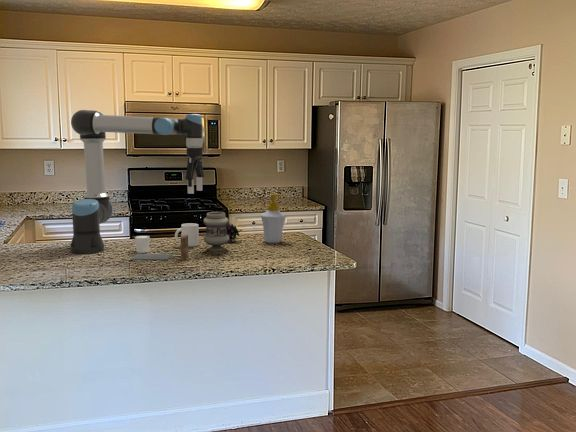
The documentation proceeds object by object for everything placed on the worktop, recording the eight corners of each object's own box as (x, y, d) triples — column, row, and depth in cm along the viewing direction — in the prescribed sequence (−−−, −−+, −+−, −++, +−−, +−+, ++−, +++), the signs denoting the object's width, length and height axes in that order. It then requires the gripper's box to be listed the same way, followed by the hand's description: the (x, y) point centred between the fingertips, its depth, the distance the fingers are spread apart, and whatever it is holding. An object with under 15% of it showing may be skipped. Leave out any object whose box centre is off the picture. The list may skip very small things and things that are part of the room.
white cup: (153, 250, 266) (152, 235, 265) (144, 253, 260) (144, 238, 259) (140, 249, 269) (140, 234, 268) (132, 252, 262) (131, 237, 261)
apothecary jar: (198, 250, 267) (197, 212, 264) (218, 246, 276) (217, 210, 273) (215, 254, 259) (214, 215, 256) (234, 250, 268) (234, 212, 265)
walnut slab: (180, 260, 248) (180, 237, 246) (183, 257, 254) (182, 235, 252) (186, 260, 248) (185, 237, 246) (188, 257, 254) (188, 235, 252)
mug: (178, 248, 272) (177, 227, 270) (171, 245, 279) (171, 224, 277) (201, 245, 278) (201, 225, 276) (194, 243, 285) (194, 222, 283)
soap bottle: (285, 244, 283) (285, 195, 279) (259, 244, 283) (259, 195, 279) (285, 239, 296) (286, 192, 292) (261, 239, 296) (261, 192, 292)
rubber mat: (130, 259, 248) (130, 258, 248) (136, 254, 257) (136, 253, 257) (167, 260, 248) (167, 259, 248) (172, 254, 258) (172, 254, 257)
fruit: (214, 246, 292) (242, 238, 296) (218, 247, 281) (246, 238, 286) (208, 227, 291) (236, 219, 295) (212, 227, 281) (240, 218, 285)
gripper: (194, 148, 256) (194, 195, 259) (209, 146, 280) (210, 189, 283) (178, 148, 257) (178, 194, 260) (194, 146, 281) (195, 189, 284)
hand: (195, 192), depth 272 cm, fingers open, 13 cm apart
